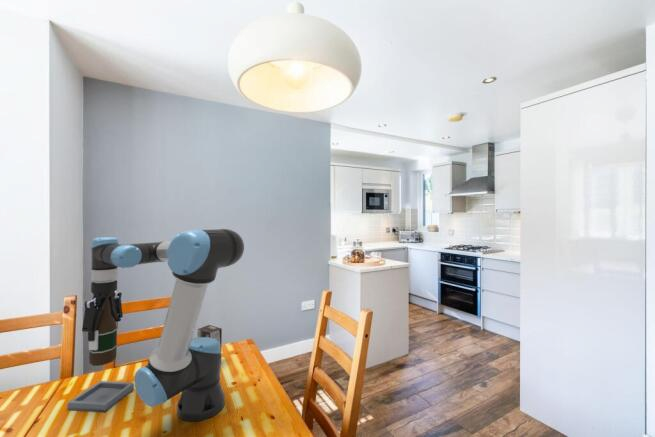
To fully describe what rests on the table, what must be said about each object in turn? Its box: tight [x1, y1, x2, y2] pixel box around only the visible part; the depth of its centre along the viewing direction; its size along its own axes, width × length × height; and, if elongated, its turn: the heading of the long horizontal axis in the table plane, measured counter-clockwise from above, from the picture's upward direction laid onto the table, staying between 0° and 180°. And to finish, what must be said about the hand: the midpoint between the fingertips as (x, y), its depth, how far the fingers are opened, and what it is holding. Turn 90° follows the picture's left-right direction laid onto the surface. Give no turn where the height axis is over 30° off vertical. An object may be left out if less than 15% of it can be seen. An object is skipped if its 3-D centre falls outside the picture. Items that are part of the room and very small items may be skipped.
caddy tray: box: [66, 380, 135, 413], centre depth 107 cm, size 13×13×2 cm
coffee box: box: [196, 324, 223, 366], centre depth 133 cm, size 9×6×16 cm
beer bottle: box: [88, 294, 118, 367], centre depth 107 cm, size 8×8×24 cm
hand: (103, 344), depth 107 cm, fingers closed on beer bottle, 8 cm apart
